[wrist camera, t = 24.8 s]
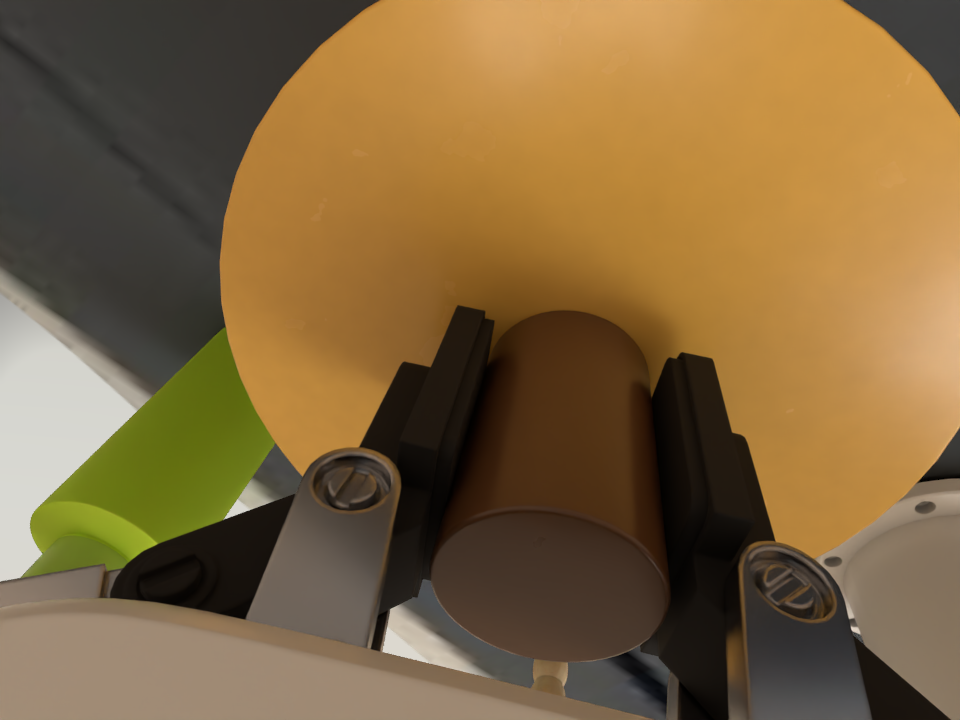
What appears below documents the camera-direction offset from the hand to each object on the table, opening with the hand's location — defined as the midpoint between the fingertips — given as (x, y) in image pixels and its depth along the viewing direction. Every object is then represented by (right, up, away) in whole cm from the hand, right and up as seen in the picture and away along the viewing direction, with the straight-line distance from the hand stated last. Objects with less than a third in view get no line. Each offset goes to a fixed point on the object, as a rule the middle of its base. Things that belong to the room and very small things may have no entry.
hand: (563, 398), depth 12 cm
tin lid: (0, +1, +1) cm, 1 cm away
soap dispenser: (-14, +1, +22) cm, 27 cm away
